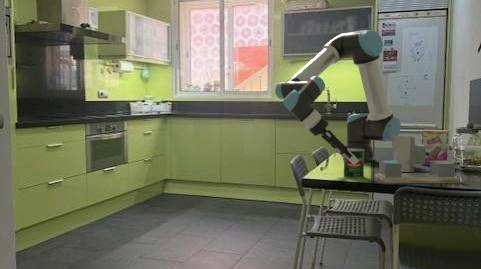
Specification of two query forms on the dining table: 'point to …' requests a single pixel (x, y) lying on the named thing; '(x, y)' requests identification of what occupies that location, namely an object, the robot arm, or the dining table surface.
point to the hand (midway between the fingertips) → (352, 160)
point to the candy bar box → (436, 145)
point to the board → (422, 181)
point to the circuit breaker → (408, 152)
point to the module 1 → (390, 168)
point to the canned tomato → (358, 168)
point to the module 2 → (442, 168)
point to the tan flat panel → (415, 176)
